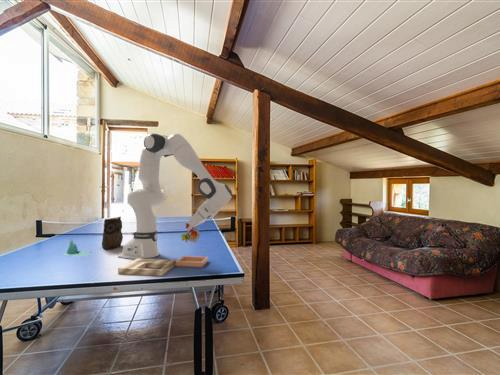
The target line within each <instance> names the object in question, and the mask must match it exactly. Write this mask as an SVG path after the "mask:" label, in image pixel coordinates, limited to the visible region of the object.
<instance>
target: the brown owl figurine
mask: <svg viewBox="0 0 500 375" xmlns="http://www.w3.org/2000/svg"><path fill="white" fill-rule="evenodd" d="M103 222H104V223H103V232H102V240H101V248H103V249H104V251H105V250H106V251H109V250H110V251H111V250H115V249H118V248H121V246H122V242H123V238H124V236H123V232H122V228H123V222H122V219H121V216H118V217H110V218H105V219H104V221H103Z"/></svg>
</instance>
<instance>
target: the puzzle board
mask: <svg viewBox="0 0 500 375" xmlns="http://www.w3.org/2000/svg"><path fill="white" fill-rule="evenodd" d="M176 261H177V260H176V259H153V258H144V259H132V261H130V262H128V263H125V264H124V265H121V266H119V267H118V268H117V274H120V275H140V276H141V275H143V276H160V277H161V276H164V275H165V274H166V273H168V272H169V271H170V270H172V268H174V267H175V262H176Z"/></svg>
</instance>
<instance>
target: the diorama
mask: <svg viewBox="0 0 500 375" xmlns="http://www.w3.org/2000/svg"><path fill="white" fill-rule="evenodd" d="M92 254H93V252H91V251H85V250H84V251H82V250H79V249H78V246H77V244H76V243H75V242H74V240H73V238H72V239H70V242H69V244H68V247H67V250H66V252H64V253H63V256H65V257H66V256H67V257H85V256H90V255H92Z"/></svg>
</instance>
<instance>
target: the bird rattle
mask: <svg viewBox="0 0 500 375" xmlns="http://www.w3.org/2000/svg"><path fill="white" fill-rule="evenodd" d="M185 225H186V226H185V229H187V228H188V227H189V226H190V225H189V224H188V222H186V223H185ZM180 235H181V241H185V242H186V243H188V241H189V242H193V243H197V241H198V240H199V239H200V235H201V233H200V230H199V229H198V228H197V227H193V228H192V229H191V230H190V231H189V230H188V229H187V231H186V233H183V234H180Z"/></svg>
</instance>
